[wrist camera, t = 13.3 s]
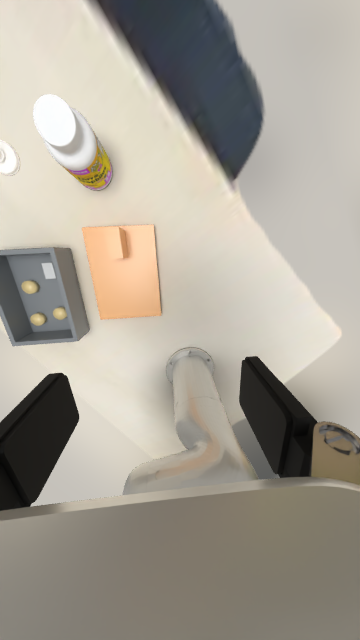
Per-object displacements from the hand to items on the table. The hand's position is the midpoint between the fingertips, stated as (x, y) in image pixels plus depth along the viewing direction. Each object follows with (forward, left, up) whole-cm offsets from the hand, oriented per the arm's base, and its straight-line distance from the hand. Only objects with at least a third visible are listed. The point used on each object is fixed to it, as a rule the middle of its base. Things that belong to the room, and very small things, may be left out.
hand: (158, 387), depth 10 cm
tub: (0, +25, -33) cm, 42 cm away
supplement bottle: (+22, +11, -34) cm, 42 cm away
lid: (+3, +8, -34) cm, 35 cm away
